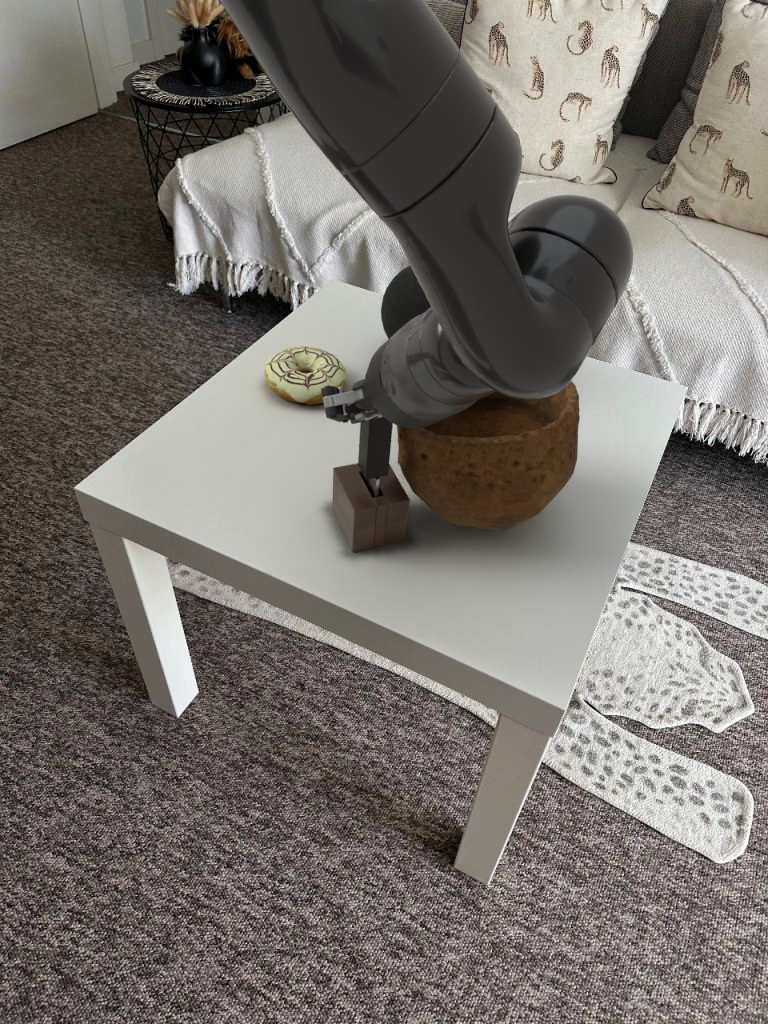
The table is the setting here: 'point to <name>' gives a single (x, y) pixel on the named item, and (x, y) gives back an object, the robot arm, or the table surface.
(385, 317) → the black ball on stand
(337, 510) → the knife block
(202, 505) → the table surface
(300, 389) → the decorated donut
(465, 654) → the table surface
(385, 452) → the knife
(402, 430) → the bowl
